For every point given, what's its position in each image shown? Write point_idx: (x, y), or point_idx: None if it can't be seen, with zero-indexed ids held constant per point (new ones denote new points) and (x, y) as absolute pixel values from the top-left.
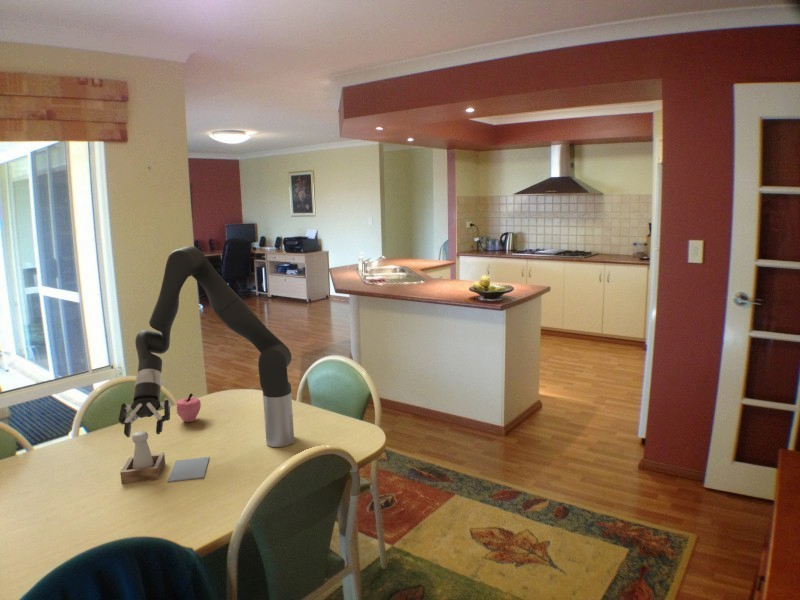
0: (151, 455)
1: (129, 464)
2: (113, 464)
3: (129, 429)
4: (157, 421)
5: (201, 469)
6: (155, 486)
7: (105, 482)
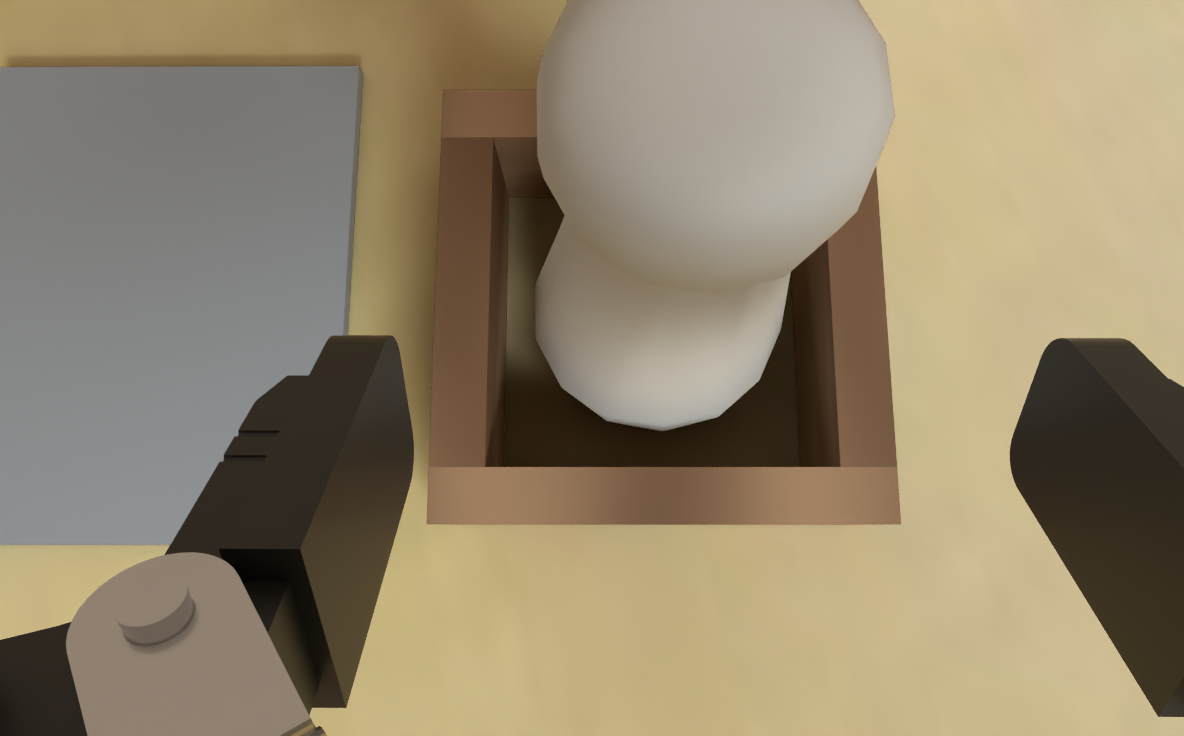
0: (547, 301)
1: (829, 302)
2: (1100, 675)
3: (1117, 501)
4: (288, 527)
5: (22, 230)
6: (470, 24)
7: (1013, 225)
